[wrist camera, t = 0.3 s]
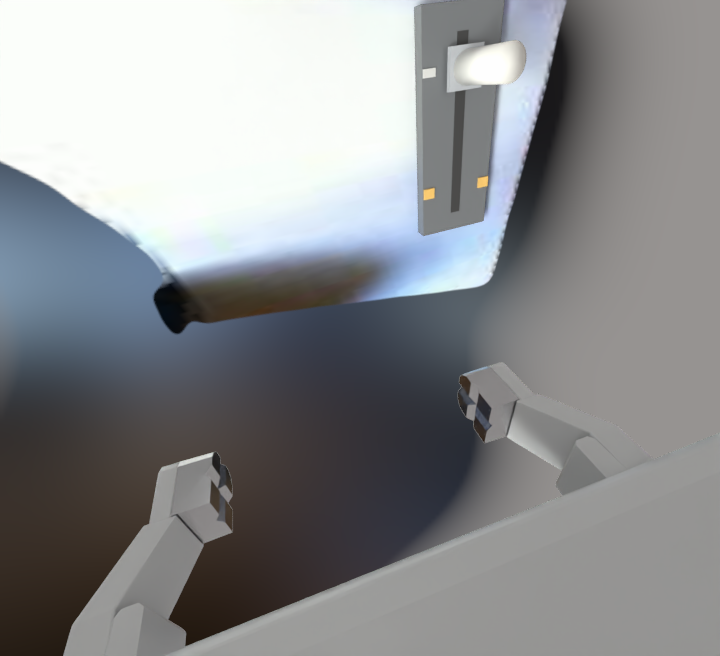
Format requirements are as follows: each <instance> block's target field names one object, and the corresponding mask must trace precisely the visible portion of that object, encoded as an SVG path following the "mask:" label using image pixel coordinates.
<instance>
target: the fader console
mask: <svg viewBox="0 0 720 656" xmlns="http://www.w3.org/2000/svg"><path fill="white" fill-rule="evenodd" d="M503 11H504V0H458V1H449V2H440V3H431V4H422V5H419V6H417V7H415V8H414V21H415V75H416V128H417V182H418V232H419V233H420V234H421V235H423V236H426V235H430V234H434V233H438V232H442V231H446V230H450V229H454V228H458V227H462V226H466V225H470V224H474V223H478V222H482V221H484V210H485V200H486V189H487V185H488V168H489V158H490V147H491V137H492V126H493V116H494V105H495V95H496V84H495V85H481V87H479V88H473V89H467V90H461V91H455V92H447V61H448V47H450V46H457V45H464V44H471V43H479V42H485V43H484V46H486V45H491V44H497V43H500V42H501V32H502V21H503Z"/></svg>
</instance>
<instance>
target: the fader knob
mask: <svg viewBox="0 0 720 656" xmlns="http://www.w3.org/2000/svg"><path fill="white" fill-rule="evenodd" d="M484 43H485V42H479V43H471V44H464V45H457V46H450V47H448V61H447V92H455V91H461V90H467V89H473V88H479V87H481V85H495V84H511V83H513V82H514V81H516V80H517V79H518V78H519V77H520V75H521V74H522V72H523V70H524V67H525V63H526V50H525V47H524V45H523V44H522V43H521V42H520V41H517V40H513V41H507V42H502V43H497V44H491V45H486V46H484Z"/></svg>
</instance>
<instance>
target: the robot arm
mask: <svg viewBox="0 0 720 656" xmlns="http://www.w3.org/2000/svg"><path fill="white" fill-rule="evenodd" d="M459 383H460V385H461V386H462V387H461V389H460V390H459V391H458V402H459V406H460V407H461V410H462V412H463V413H464V415H465V416H466V417H467V418H469V419H471V420H473V421H474V425H473V428H474V429H475V431H476V432H477V433H478V435H479V436H480V438H481V439H482V441H483V442H484V443H486V442H490V441H493V440H496V439H499V438H502V437H505V436H507V437H508V438H509V439H511V440H512V441H514V442H516V443H517V444H519V445H521V446H522V447H524V448H525V449H527V450H529V451H530V452H532V453H534V454H535V455H537V456H539V457H541V458H542V459H544V460H545V461H547V462H549V463H550V464H552V465H553V466H555V467H557V468H558V469H560V470H562V471H561V473H560V475H559V478H558V479H557V482H556V488H557V489H558V490H559V491H560V493H561V494H562V495H563V496H561V497H558V498H556V499H553V500H551V501H548V502H546V503H543V504H541V505H538V506H536V507H533V508H531V509H528V510H526V511H523V512H521V513H518V514H516V515H513V516H511V517H508V518H506V519H503V520H501V521H498V522H496V523H493V524H491V525H488V526H486V527H483V528H481V529H478V530H476V531H473V532H471V533H468V534H466V535H463V536H461V537H458V538H456V539H453V540H451V541H448V542H446V543H443V544H441V545H438V546H436V547H433V548H431V549H428V550H426V551H423V552H421V553H418V554H416V555H413V556H411V557H408V558H406V559H403V560H401V561H398V562H396V563H393V564H391V565H388V566H386V567H383V568H381V569H378V570H376V571H373V572H371V573H368V574H366V575H363V576H361V577H358V578H356V579H353V580H351V581H349V582H346V583H343V584H341V585H338V586H336V587H334V588H331V589H328V590H326V591H323V592H321V593H318V594H316V595H313V596H311V597H308V598H306V599H303V600H301V601H298V602H296V603H293V604H291V605H288V606H286V607H283V608H281V609H278V610H276V611H273V612H271V613H268V614H266V615H263V616H261V617H258V618H256V619H254V620H251V621H248V622H246V623H244V624H241V625H238V626H236V627H233V628H231V629H229V630H226V631H224V632H221V633H218V634H216V635H213V636H211V637H209V638H206V639H203V640H201V641H199V642H196V643H194V644H191V645H189V646H186V647H185V639H186V632H185V631H184V630H183V629H182V628H181V627H179V626H177V625H176V624H174V623H172V622H171V621H169V620H168V618H169V616H170V614H171V612H172V610H173V608H174V606H175V604H176V602H177V600H178V598H179V595H180V593H181V591H182V589H183V587H184V585H185V583H186V581H187V579H188V577H189V575H190V573H191V571H192V568H193V566H194V564H195V562H196V560H197V558H198V556H199V554H200V552H201V550H202V547H203V543H205V542H208V541H211V540H214V539H216V538H219V537H221V536H224V535H227V534H229V533H232V532H233V510H232V508H231V507H230V505H229V504H228V502H229V501H230V499H231V497H232V496H233V495H232V494H233V493H232V482H231V476H230V473H229V471H228V469H227V467H226V466H225V465H222V464H220V459H221V458H220V456H219V455H218V453H217V452H213V453H210V454H206V455H203V456H199V457H196V458H192V459H188V460H185V461H181V462H178V463H175V464H172V465H168V466H165V467H162V468H161V470H160V472H159V474H158V479H157V484H156V490H155V496H154V501H153V507H152V512H151V517H150V523H149V524H148V525H145V526H143V528H142V529H141V531H140V532H139V534H138V535H137V536H136V537H135V539H134V540H133V542H132V543H131V544H130V546H129V547H128V549H127V550H126V551H125V553H124V554H123V556H122V557H121V558H120V560H119V561H118V562H117V564H116V565H115V567H114V568H113V569H112V571H111V572H110V574H109V575H108V576H107V578H106V579H105V580H104V582H103V583H102V585H101V586H100V588H99V589H98V590H97V592H96V593H95V594H94V596H93V597H92V598H91V600H90V601H89V603H88V604H87V606H86V607H85V608H84V610H83V611H82V613H81V614H80V615H79V616H78V618H77V619H76V621H75V622H74V623H73V625H72V628H71V631H70V634H69V638H68V642H67V645H66V648H65V652H64V655H63V656H720V433H718V434H716V435H713V436H710V437H708V438H705V439H703V440H701V441H698V442H696V443H693V444H690V445H688V446H685V447H683V448H680V449H678V450H675V451H673V452H671V453H668V454H666V455H663V456H660V457H658V458H655V459H653V458H652V457H651V456H650V455H649V454H648V453H647V452H646V451H645V450H643V449H642V448H641V447H640V446H639V445H638V444H637V443H636V442H634V441H633V440H632V439H631V438H630V437H629V436H628V435H627V434H626V433H625V432H624V431H622V430H621V429H620V428H619V427H618V426H617V425H615V424H613V423H610V422H608V421H606V420H603V419H600V418H598V417H596V416H593V415H591V414H588V413H586V412H583V411H581V410H578V409H576V408H573V407H570V406H568V405H566V404H563V403H560V402H558V401H556V400H553V399H551V398H548V397H546V396H543V395H541V394H536V395H535V394H534V393H533V392H531V390H530V389H529V388H528V387H527V386H526V385H525V384H524V383H523V382H522V381H521V380H520V379H519V378H518V377H517V376H516V375H515V374H514V373H513V372H512V371H511V370H510V369H509V368H508V367H507V366H506V365H505V364H504V363H497V364H494V365H491V366H488V367H483V368H480V369H478V370H474V371H471V372H468V373H465V374H462V375H461V376H460V378H459Z"/></svg>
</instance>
